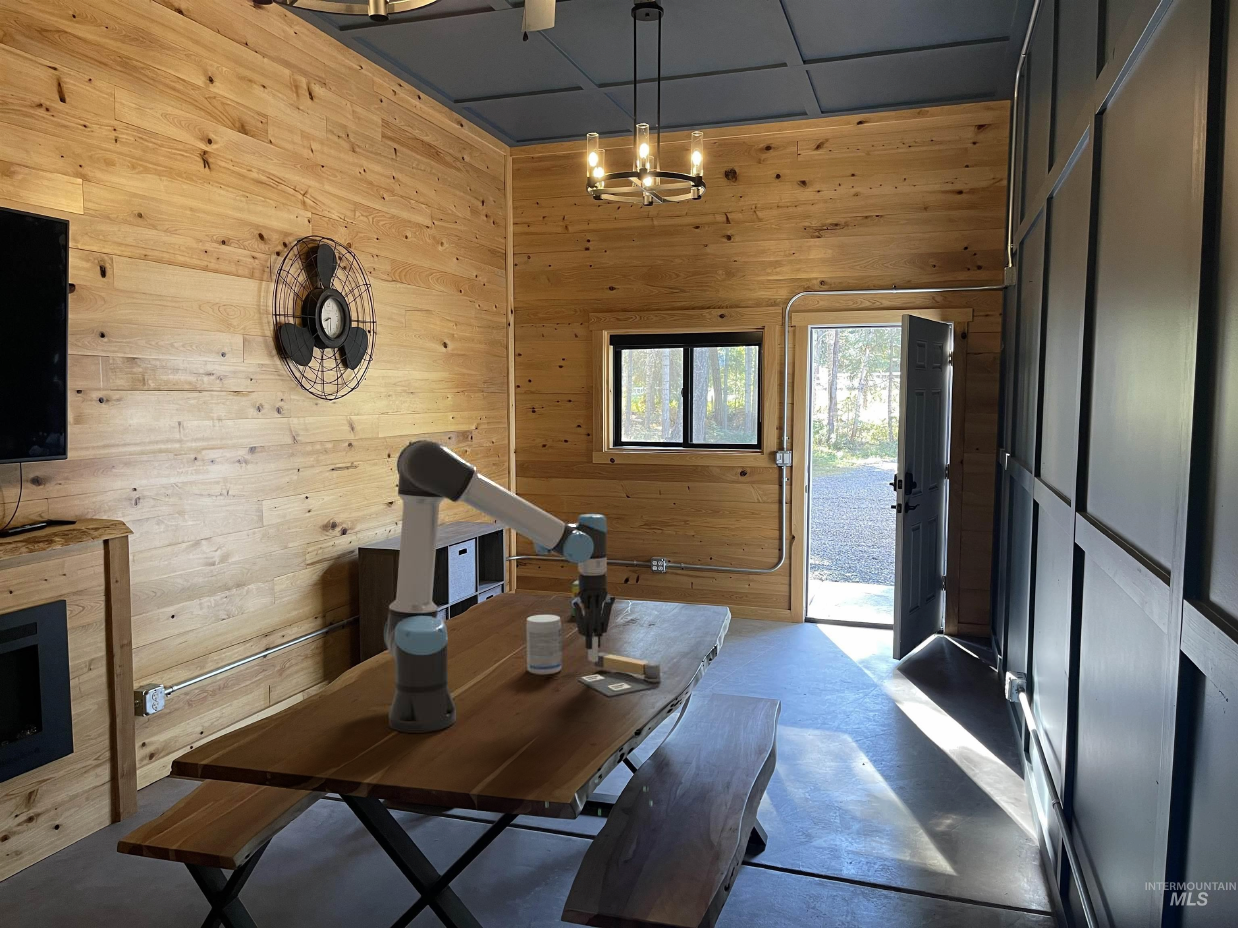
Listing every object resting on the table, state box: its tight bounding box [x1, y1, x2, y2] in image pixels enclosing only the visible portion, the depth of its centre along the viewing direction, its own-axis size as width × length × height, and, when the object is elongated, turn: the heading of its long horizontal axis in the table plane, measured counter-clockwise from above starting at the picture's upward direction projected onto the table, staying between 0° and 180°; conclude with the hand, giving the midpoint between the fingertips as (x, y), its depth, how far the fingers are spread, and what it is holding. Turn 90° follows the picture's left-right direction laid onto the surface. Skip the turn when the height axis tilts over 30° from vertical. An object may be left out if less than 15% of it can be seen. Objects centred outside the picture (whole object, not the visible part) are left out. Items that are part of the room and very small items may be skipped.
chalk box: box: [571, 579, 584, 618], centre depth 308 cm, size 9×9×15 cm
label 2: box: [607, 683, 632, 691], centre depth 225 cm, size 5×4×1 cm
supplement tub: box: [525, 614, 563, 676], centre depth 241 cm, size 10×10×15 cm
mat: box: [577, 671, 656, 698], centre depth 229 cm, size 14×16×1 cm
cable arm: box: [594, 651, 661, 678], centre depth 236 cm, size 20×4×3 cm, turn 55°
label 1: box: [580, 674, 605, 682], centre depth 232 cm, size 5×4×1 cm
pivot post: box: [643, 675, 662, 685], centre depth 231 cm, size 4×4×1 cm
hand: (593, 660), depth 232 cm, fingers closed
